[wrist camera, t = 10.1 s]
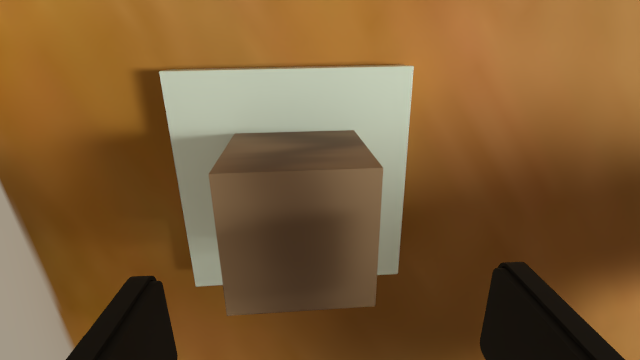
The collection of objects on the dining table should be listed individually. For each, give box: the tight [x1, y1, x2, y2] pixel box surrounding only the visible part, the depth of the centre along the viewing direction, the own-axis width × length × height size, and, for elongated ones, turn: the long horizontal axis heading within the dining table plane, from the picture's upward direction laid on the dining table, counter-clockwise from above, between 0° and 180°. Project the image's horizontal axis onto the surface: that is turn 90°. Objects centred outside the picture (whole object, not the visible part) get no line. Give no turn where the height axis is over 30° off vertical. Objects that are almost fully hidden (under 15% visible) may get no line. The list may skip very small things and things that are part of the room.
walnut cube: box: [209, 130, 383, 316], centre depth 16 cm, size 6×6×6 cm
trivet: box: [159, 65, 414, 287], centre depth 19 cm, size 12×12×2 cm
